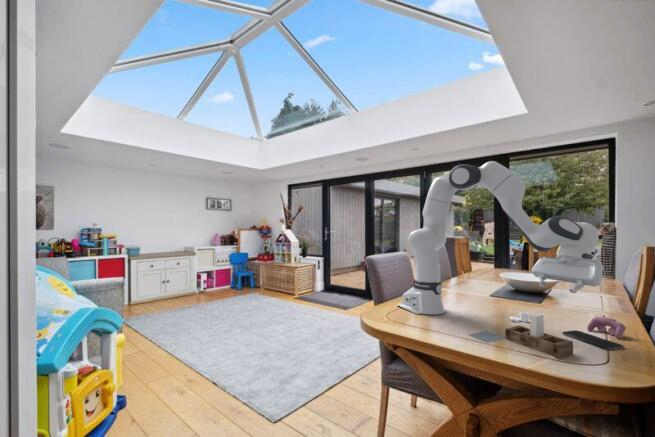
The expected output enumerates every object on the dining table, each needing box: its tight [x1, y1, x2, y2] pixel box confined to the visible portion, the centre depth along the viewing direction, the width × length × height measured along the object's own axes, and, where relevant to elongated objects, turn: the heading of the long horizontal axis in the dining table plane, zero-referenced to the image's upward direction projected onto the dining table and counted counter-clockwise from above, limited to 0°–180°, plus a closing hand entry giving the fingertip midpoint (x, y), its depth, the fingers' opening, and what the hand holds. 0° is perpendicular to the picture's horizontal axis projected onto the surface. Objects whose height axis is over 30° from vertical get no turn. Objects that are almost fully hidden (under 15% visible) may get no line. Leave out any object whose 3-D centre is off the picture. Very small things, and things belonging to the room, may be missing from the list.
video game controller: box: [586, 316, 627, 340], centre depth 110 cm, size 10×5×7 cm, turn 23°
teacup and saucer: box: [509, 311, 531, 326], centre depth 124 cm, size 9×8×4 cm
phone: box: [561, 329, 625, 351], centre depth 103 cm, size 8×1×15 cm
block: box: [529, 313, 545, 338], centre depth 98 cm, size 2×4×9 cm, turn 115°
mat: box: [468, 330, 506, 344], centre depth 107 cm, size 8×10×1 cm
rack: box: [505, 325, 574, 360], centre depth 98 cm, size 17×8×4 cm, turn 26°
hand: (556, 288), depth 104 cm, fingers open, 8 cm apart
